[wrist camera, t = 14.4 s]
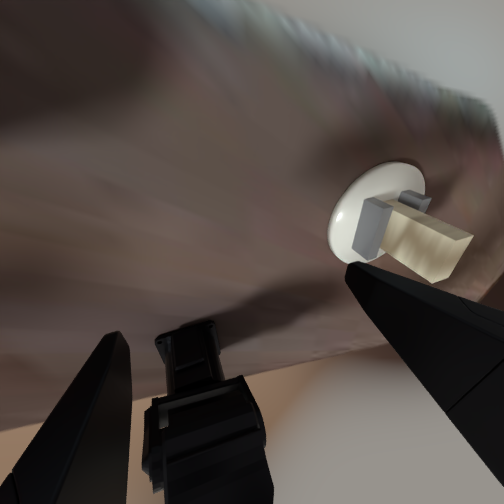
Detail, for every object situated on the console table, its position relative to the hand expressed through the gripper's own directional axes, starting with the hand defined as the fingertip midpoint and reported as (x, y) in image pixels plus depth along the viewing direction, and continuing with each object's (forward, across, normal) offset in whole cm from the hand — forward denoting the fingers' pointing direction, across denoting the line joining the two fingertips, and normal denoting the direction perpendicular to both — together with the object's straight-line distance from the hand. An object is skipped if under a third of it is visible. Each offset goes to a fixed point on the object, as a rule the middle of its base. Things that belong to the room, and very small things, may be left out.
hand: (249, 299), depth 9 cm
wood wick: (+11, -19, +6) cm, 23 cm away
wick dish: (+12, -19, +6) cm, 23 cm away
